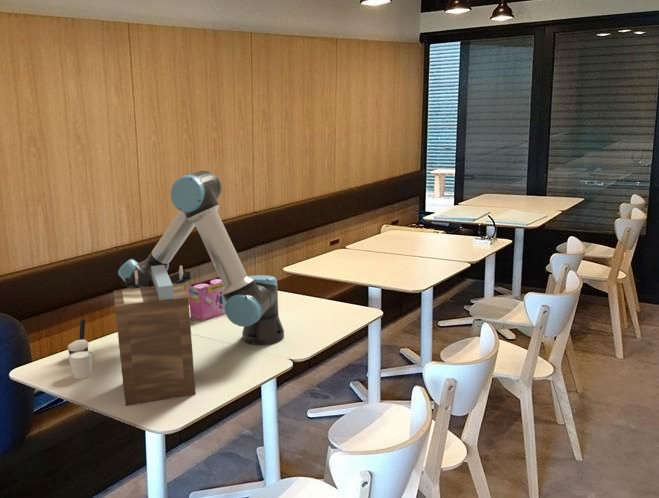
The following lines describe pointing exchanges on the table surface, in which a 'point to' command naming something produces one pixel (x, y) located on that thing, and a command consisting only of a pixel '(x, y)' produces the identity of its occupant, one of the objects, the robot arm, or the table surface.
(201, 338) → the table surface
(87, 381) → the table surface
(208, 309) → the gum box
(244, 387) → the table surface
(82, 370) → the shot glass
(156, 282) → the rod
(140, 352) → the shelf
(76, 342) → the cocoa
